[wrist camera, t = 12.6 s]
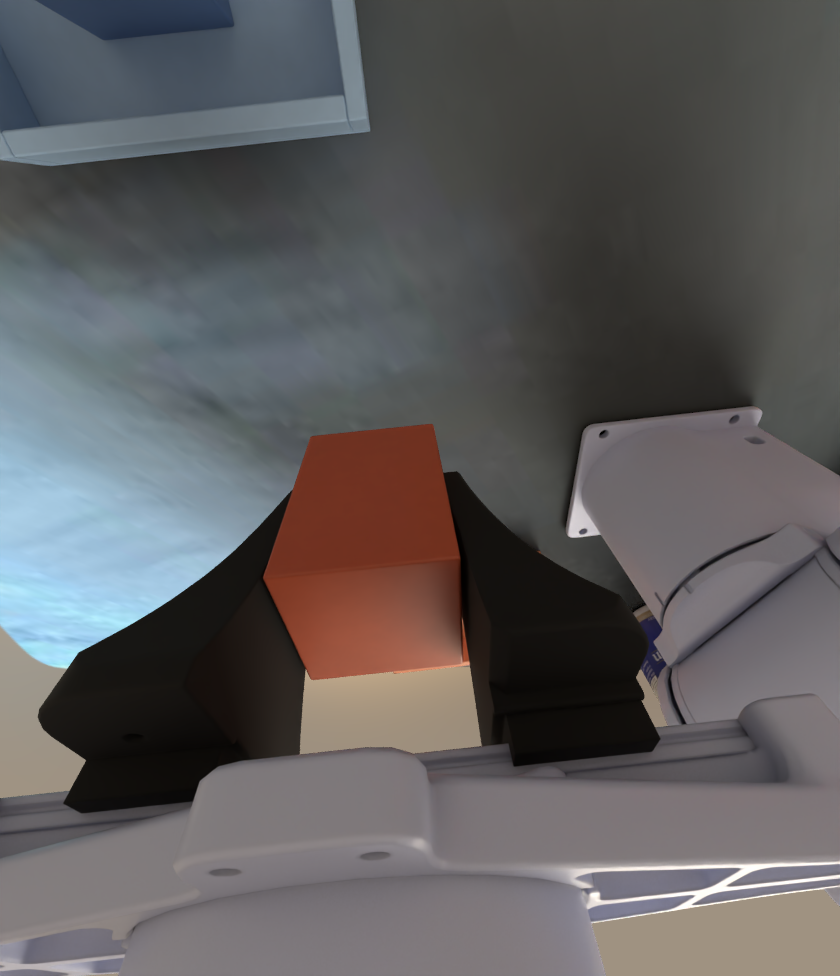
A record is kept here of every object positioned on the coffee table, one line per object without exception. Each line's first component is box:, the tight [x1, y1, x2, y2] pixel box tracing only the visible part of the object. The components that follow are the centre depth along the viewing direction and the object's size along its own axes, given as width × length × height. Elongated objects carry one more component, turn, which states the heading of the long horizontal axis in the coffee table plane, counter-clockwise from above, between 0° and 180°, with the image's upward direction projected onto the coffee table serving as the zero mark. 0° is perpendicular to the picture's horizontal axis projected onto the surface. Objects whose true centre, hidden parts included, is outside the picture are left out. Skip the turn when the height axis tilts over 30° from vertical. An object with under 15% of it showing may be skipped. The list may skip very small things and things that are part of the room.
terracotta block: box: [263, 424, 463, 680], centre depth 11 cm, size 4×4×6 cm
